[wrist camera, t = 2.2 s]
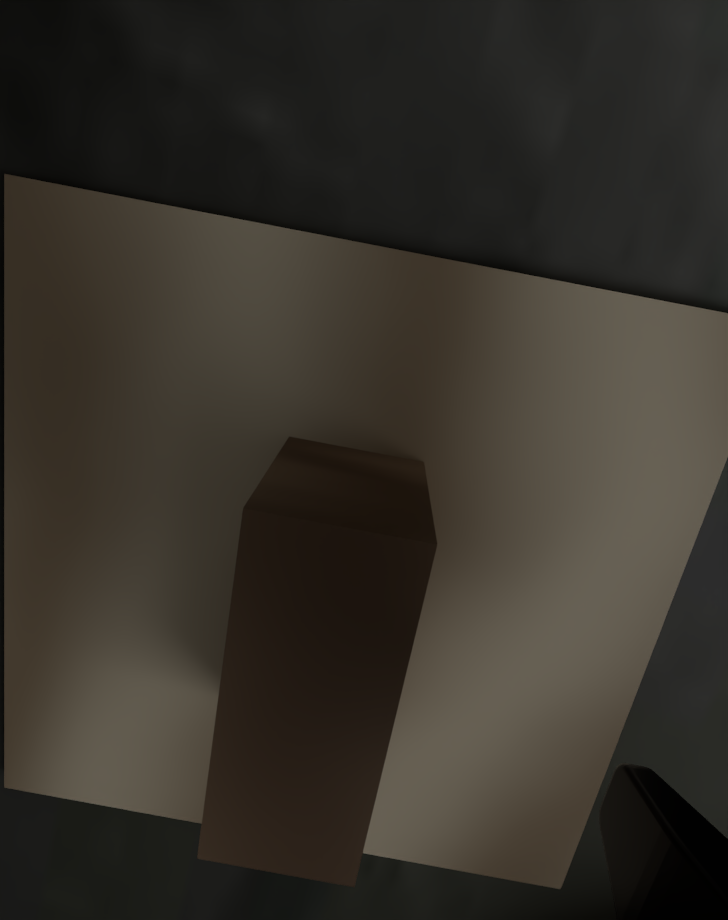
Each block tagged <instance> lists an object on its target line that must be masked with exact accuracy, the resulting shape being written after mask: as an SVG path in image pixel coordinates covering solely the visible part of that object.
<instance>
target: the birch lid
mask: <svg viewBox="0 0 728 920" xmlns="http://www.w3.org/2000/svg"><path fill="white" fill-rule="evenodd" d="M727 457H728V313H724V312H718V311H713V310H708V309H703V308H698V307H692V306H687V305H682V304H677V303H672V302H666V301H661V300H656V299H651V298H646V297H641V296H635V295H630V294H625V293H620V292H615V291H609V290H604V289H599V288H594V287H589V286H583V285H578V284H573V283H568V282H563V281H558V280H552V279H547V278H542V277H537V276H532V275H526V274H521V273H516V272H511V271H506V270H500V269H495V268H490V267H485V266H480V265H475V264H469V263H464V262H459V261H454V260H449V259H443V258H438V257H433V256H428V255H423V254H417V253H412V252H407V251H402V250H397V249H392V248H386V247H381V246H376V245H371V244H366V243H360V242H355V241H350V240H345V239H340V238H334V237H329V236H324V235H319V234H314V233H309V232H303V231H298V230H293V229H288V228H283V227H277V226H272V225H267V224H262V223H257V222H251V221H246V220H241V219H236V218H231V217H226V216H220V215H215V214H210V213H205V212H200V211H194V210H189V209H184V208H179V207H174V206H168V205H163V204H158V203H153V202H148V201H143V200H137V199H132V198H127V197H122V196H117V195H111V194H106V193H101V192H96V191H91V190H85V189H80V188H75V187H70V186H65V185H60V184H54V183H49V182H44V181H39V180H34V179H28V178H23V177H18V176H13V175H8V174H4V787H5V788H10V789H16V790H21V791H27V792H32V793H38V794H43V795H48V796H54V797H59V798H65V799H70V800H76V801H81V802H87V803H92V804H98V805H103V806H109V807H114V808H119V809H125V810H130V811H136V812H141V813H147V814H152V815H158V816H163V817H169V818H174V819H180V820H185V821H190V822H196V823H201V824H202V825H201V833H200V840H199V848H198V856H197V859H203V860H208V861H214V862H219V863H224V864H230V865H235V866H241V867H246V868H252V869H257V870H263V871H268V872H274V873H279V874H285V875H290V876H296V877H301V878H307V879H312V880H318V881H323V882H329V883H334V884H340V885H345V886H350V887H354V886H355V882H356V878H357V874H358V870H359V866H360V862H361V858H362V854H363V853H365V854H371V855H376V856H382V857H387V858H393V859H398V860H403V861H409V862H414V863H420V864H425V865H431V866H436V867H442V868H447V869H453V870H458V871H464V872H469V873H474V874H480V875H485V876H491V877H496V878H502V879H507V880H513V881H518V882H524V883H529V884H535V885H540V886H545V887H551V888H556V889H561V887H562V884H563V882H564V879H565V877H566V874H567V871H568V869H569V866H570V864H571V861H572V858H573V856H574V853H575V851H576V848H577V846H578V843H579V840H580V838H581V835H582V833H583V830H584V827H585V825H586V822H587V820H588V817H589V814H590V812H591V809H592V807H593V804H594V802H595V799H596V796H597V794H598V791H599V789H600V786H601V783H602V781H603V778H604V776H605V773H606V770H607V768H608V765H609V763H610V760H611V758H612V755H613V752H614V750H615V747H616V745H617V742H618V739H619V737H620V734H621V732H622V729H623V726H624V724H625V721H626V719H627V716H628V714H629V711H630V708H631V706H632V703H633V701H634V698H635V695H636V693H637V690H638V688H639V685H640V682H641V680H642V677H643V675H644V672H645V670H646V667H647V664H648V662H649V659H650V657H651V654H652V651H653V649H654V646H655V644H656V641H657V638H658V636H659V633H660V631H661V628H662V626H663V623H664V620H665V618H666V615H667V613H668V610H669V607H670V605H671V602H672V600H673V597H674V594H675V592H676V589H677V587H678V584H679V582H680V579H681V576H682V574H683V571H684V569H685V566H686V563H687V561H688V558H689V556H690V553H691V550H692V548H693V545H694V543H695V540H696V538H697V535H698V532H699V530H700V527H701V525H702V522H703V519H704V517H705V514H706V512H707V509H708V506H709V504H710V501H711V499H712V496H713V494H714V491H715V488H716V486H717V483H718V481H719V478H720V475H721V473H722V470H723V468H724V465H725V462H726V460H727Z"/></svg>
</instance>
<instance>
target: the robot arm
mask: <svg viewBox="0 0 728 920" xmlns="http://www.w3.org/2000/svg"><path fill="white" fill-rule="evenodd" d="M599 824H600V830H601V835H602V840H603V846H604V851H605V856H606V862H607V867H608V872H609V877H610V883H611V888H612V893H613V898H614V904H615V909H616V914H617V920H728V839H727V838H726V837H725V836H724V835H723V834H722V833H721V832H719V831H718V830H717V829H716V828H715V827H714V826H713V825H712V824H711V823H710V822H709V821H707V820H706V819H705V818H704V817H703V816H702V815H701V814H700V813H699V812H698V811H697V810H695V809H694V808H693V807H692V806H691V805H690V804H689V803H688V802H687V801H686V800H685V799H683V798H682V797H681V796H680V795H679V794H678V793H677V792H676V791H675V790H674V789H673V788H671V787H670V786H669V785H668V784H667V783H666V782H665V781H664V780H663V779H662V778H661V777H659V776H658V775H657V774H656V773H655V772H654V771H653V770H651V769H649V768H647V767H643V766H638V765H632V764H627V763H622V764H619V765H618V766H617V767H616V769H615V771H614V773H613V776H612V778H611V781H610V783H609V786H608V788H607V791H606V793H605V796H604V798H603V801H602V803H601V807H600V812H599Z"/></svg>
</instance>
